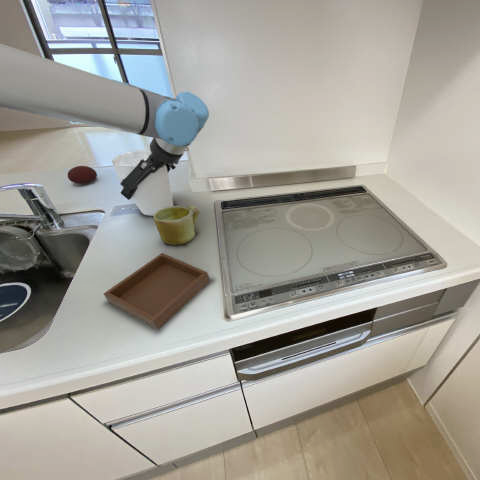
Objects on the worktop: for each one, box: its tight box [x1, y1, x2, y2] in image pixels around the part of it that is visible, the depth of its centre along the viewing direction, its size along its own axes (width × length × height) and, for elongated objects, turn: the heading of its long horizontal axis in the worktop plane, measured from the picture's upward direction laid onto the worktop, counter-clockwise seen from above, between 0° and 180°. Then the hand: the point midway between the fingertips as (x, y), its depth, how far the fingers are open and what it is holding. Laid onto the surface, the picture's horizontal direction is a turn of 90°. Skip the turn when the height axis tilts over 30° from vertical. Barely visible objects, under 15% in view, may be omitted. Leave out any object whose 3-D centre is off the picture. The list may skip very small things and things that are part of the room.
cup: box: [111, 149, 174, 217], centre depth 80 cm, size 13×13×17 cm
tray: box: [103, 252, 211, 330], centre depth 58 cm, size 15×15×3 cm
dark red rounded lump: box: [67, 165, 98, 185], centre depth 94 cm, size 7×8×6 cm
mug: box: [153, 204, 201, 246], centre depth 73 cm, size 12×10×10 cm
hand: (143, 186), depth 81 cm, fingers closed on cup, 13 cm apart
